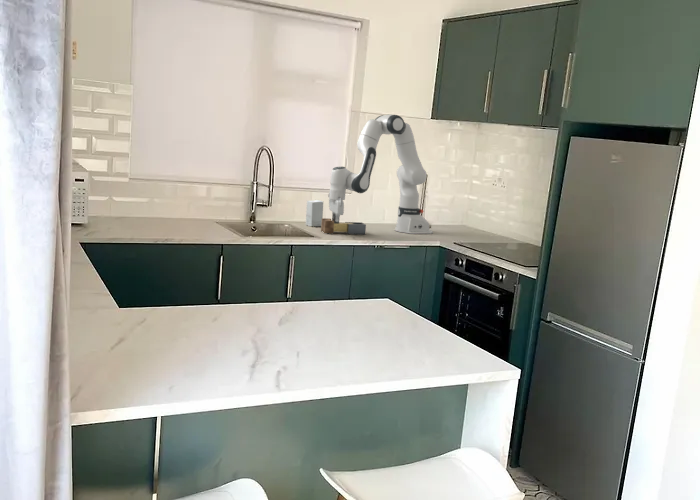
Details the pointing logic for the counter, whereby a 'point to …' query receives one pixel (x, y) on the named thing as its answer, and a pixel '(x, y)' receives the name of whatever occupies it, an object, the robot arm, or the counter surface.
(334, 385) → the counter surface
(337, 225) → the tan block
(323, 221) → the brown wooden box
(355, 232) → the sleeve
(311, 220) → the skincare box
